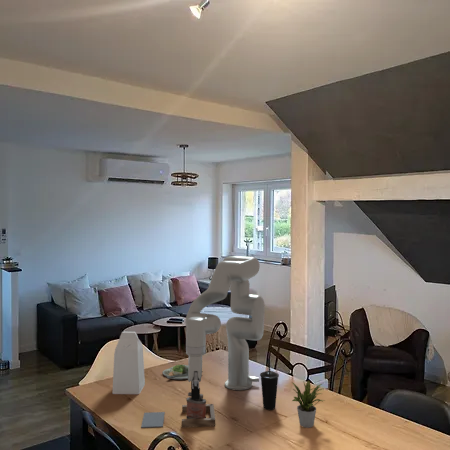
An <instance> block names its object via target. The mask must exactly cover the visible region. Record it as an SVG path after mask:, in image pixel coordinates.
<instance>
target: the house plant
mask: <svg viewBox="0 0 450 450" xmlns="http://www.w3.org/2000/svg"><path fill="white" fill-rule="evenodd" d="M292 384H293V386H294V388H295V389H296V390H295V389H294V388H293V389H292V390H293V391H294V392H295V394H297V395H296V396H293V399H292V401H291V402H298V403H299V404H298V405H297V407H296V409H297V415H298V423H299V426H301V427H302V428H308V429H309V428H310V429H311V428H312V427H314V426H315V419H316V414H317V413H316V412H317V407H316V405H317V404H318V403H319V402H323V403H324V401H326V400H325V399H319V398H317V396H318V395H323V393H322V392H321V393H319V391H322V390H323V388H321V385H323V384H324V383H320V384H318V385H316V387H313V388H311V381H310V380H307V381H306V383H305V381H304V380H303V385H304V391H303V392H302V391H301V390H300V388H299V386H297V385H296V384H295V383H294V382H292ZM316 398H317V399H316ZM314 403H315V404H314Z"/></svg>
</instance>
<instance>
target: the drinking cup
mask: <svg viewBox="0 0 450 450" xmlns="http://www.w3.org/2000/svg"><path fill="white" fill-rule="evenodd" d="M259 376H260V383H261V385H260V386H261V393H262V394H261V396H262V405H263V406H262V407H263V409H264V410H267V411H273V410H275V409H276V404H277V394H278V393H277V392H278V381H279V377H280V374H279V373H278V372H276V371H272V370H271V358H269V359H268V370H265V371H263V372H262V371H261V372H260V374H259Z"/></svg>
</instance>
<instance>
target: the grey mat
mask: <svg viewBox="0 0 450 450" xmlns="http://www.w3.org/2000/svg"><path fill="white" fill-rule="evenodd" d="M164 420H165V411H153V412H144V413H143V417H142V421H141V426H140V428H141V429H146V428H147V429H148V428H164Z"/></svg>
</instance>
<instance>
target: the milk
mask: <svg viewBox="0 0 450 450" xmlns="http://www.w3.org/2000/svg"><path fill="white" fill-rule="evenodd" d="M145 385H146V382H145V361H144V346H143V343H142V341H141V340H140V339H139V337H138V334H137V332H136V331H122V332H121V334H120V335H119V339H118V340H117V344H116V347H115V349H114V353H113V374H112V393H111V394H112V395H140V394H141V392H142V390H143V388H144V387H145Z"/></svg>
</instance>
